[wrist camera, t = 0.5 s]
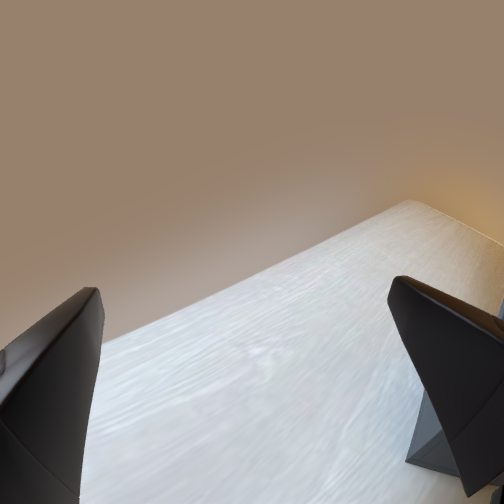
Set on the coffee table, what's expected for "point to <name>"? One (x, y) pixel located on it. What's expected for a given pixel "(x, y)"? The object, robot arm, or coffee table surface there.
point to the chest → (433, 444)
